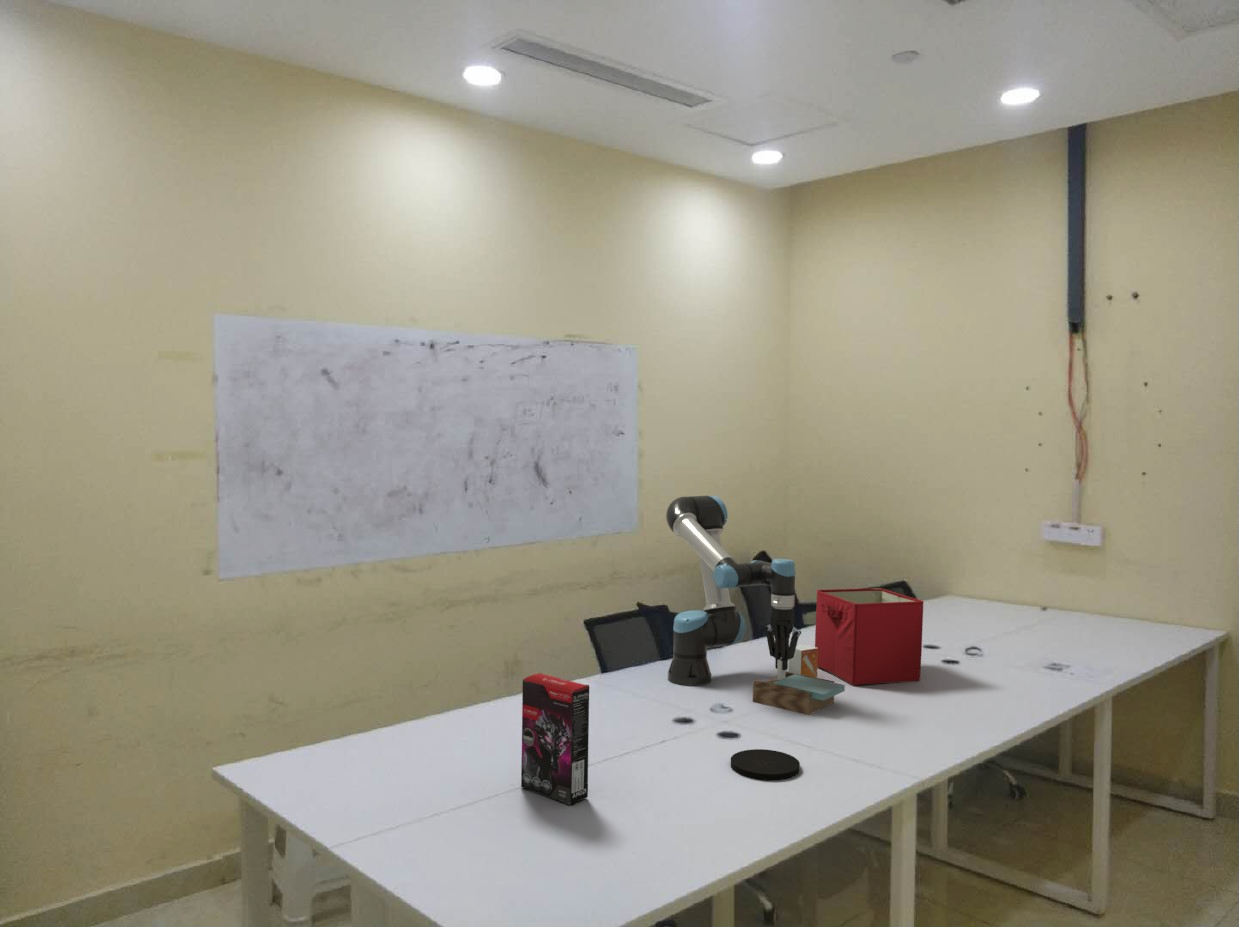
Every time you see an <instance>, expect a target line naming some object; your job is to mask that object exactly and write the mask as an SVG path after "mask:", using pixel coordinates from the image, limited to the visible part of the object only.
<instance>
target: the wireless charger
mask: <svg viewBox="0 0 1239 927" xmlns="http://www.w3.org/2000/svg"><path fill="white" fill-rule="evenodd" d="M800 767H801V763H800V760H798V759H797V758H796V757H795V756H793V755H791V754H788V753H786V752H784V751H783V752H782V751H779V750H774V749H773V750H772V749H762V748H761V749H760V748H759V749H758V748H756V749H755V748H754V749H745V750H741V751H737V752H735V753H734V754H732V755H731V757H730V768H731V770H732V771H733V772H734V773H736V774H738V775H739V776H741V777H744V778H748V779H752V780H758V781H765V782H767V781H769V782H771V781H773V782H774V781H786V780H789V779H790V780H791V779H792V778H795V777H796V776H798V775H799V774H800V771H801V769H800Z"/></svg>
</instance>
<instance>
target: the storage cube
mask: <svg viewBox="0 0 1239 927" xmlns="http://www.w3.org/2000/svg"><path fill="white" fill-rule="evenodd" d="M815 607H816V609H815V611H816V612H815V633H814V634H815V637H814V638H815V639H814V647H816V648H818V664H817V668H820V669H822V670H824V671H826V672H829V673H830V674H832V675H834V676H836V677H838V678H840V679H841V680H843V681H845V682H847V683H848V684H850V685H851V686H858V685H874V684H891V683H892V684H893V683H909V682H910V683H911V682H919V681H920V680H921V669H922V648H923V624H924V623H923V622H924V620H923V619H924V601H923V600H921V599H918V598H914V597H910V596H907V595H903V594H901V593H899V592H898V593H897V592H894V591H890V590H889V589H885V588H881V587H877V588H876V587H875V588H872V587H871V588H870V587H869V588H868V587H867V588H842V589H841V588H837V589H836V588H835V589H834V588H832V589H817V590H816V606H815Z"/></svg>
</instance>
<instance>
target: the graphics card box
mask: <svg viewBox="0 0 1239 927" xmlns="http://www.w3.org/2000/svg"><path fill="white" fill-rule="evenodd" d="M521 695H522V698H521V700H522V703H521V704H522V706H521V707H522V708H521V710H522V711H521V713H522V714H521V717H522V718H521V720H522V721H521V724H522V725H521V727H522V728H521V777H520V778H521V779H520V781H521V782H520V783H521V784H520V787H521V788H523V789H526V790H529V791H531V792H534V793H538V794H541V795H542V796H545V797H549V798H551V799H554V800H556V801H560V802H562V803H564V804H568V805H573V804H575V803H578V802H580V801H582V800H584V799H587V798H588V797H589V794H588V793H589V791H588V790H589V784H588V783H589V736H590V734H589V730H590V729H589V726H590V725H589V724H590V723H589V722H590V685H589V684H584V683H583V684H582V683H581V682H580V683H578V682H574V681H572V680H571V681H570V680H567V679H564V678H560V677H556V676H552V675H548V674H544V673H535V674H532V675H528V676H526V677H525V678H523V679H522V694H521Z"/></svg>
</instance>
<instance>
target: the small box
mask: <svg viewBox="0 0 1239 927" xmlns="http://www.w3.org/2000/svg"><path fill="white" fill-rule="evenodd" d="M817 664H818V648H816V647H815V646H813V645H810V644H806V643H804V644H800V645H799V644H798V645H796V649H795V653H794V657H793V658H792V659H789V660H788V669H787V672H792V673H797V674H801V675H806V676H811V677H816V678H818V667H817Z"/></svg>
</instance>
